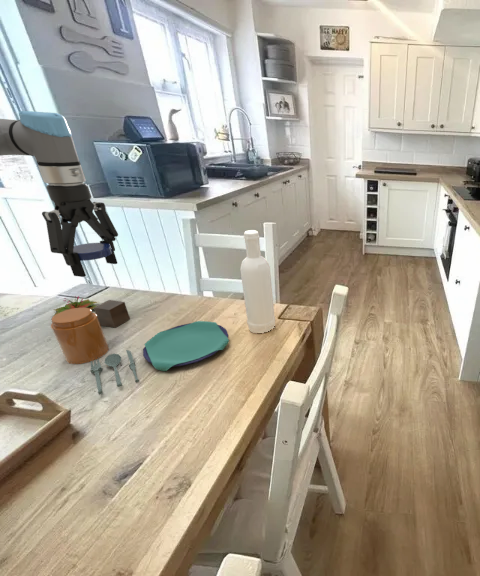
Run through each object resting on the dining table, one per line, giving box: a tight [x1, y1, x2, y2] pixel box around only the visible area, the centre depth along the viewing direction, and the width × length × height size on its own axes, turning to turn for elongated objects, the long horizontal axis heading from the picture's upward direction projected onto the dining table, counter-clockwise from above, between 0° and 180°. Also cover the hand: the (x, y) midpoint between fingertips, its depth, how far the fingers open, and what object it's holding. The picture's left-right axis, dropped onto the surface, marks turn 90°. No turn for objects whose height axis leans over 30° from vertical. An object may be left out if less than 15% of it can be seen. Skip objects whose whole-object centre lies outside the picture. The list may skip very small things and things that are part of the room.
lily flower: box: [51, 295, 98, 318], centre depth 99 cm, size 12×12×5 cm
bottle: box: [239, 229, 276, 334], centre depth 92 cm, size 8×8×30 cm
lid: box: [73, 242, 113, 262], centre depth 86 cm, size 9×9×2 cm
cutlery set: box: [90, 320, 230, 396], centre depth 84 cm, size 20×30×2 cm, turn 132°
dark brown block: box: [93, 299, 131, 329], centre depth 95 cm, size 5×5×6 cm
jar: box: [50, 308, 110, 365], centre depth 80 cm, size 8×8×12 cm
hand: (96, 269), depth 88 cm, fingers closed on lid, 9 cm apart
